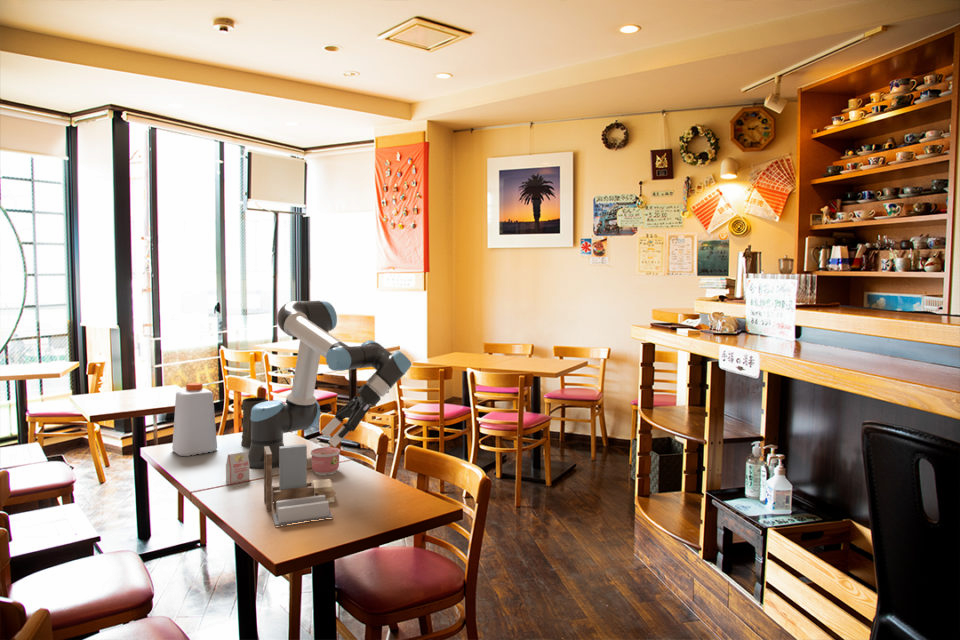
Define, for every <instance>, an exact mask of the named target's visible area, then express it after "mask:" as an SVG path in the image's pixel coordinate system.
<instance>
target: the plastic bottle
mask: <svg viewBox="0 0 960 640" xmlns="http://www.w3.org/2000/svg"><path fill="white" fill-rule="evenodd" d="M216 429H217V428H216V418H215V405H214V393H213V392H212V391H211V390H209V389H207V388H204V387H203V383H201V382H190V383H187V384H186V385H185V389H181V390H178V391H177V392H176V393H175V405H174V420H173V433H172V445H171V446H172V451H173V452H174V453H176V454H177V455H178V456H180V457H191V456H190V455H192V456H197V455H196V454H199V455H203V454H202V453H205V454H209V453H208V452H210V453H213V451H214V452H215V451H216V450H217V449H218V440H217V430H216Z"/></svg>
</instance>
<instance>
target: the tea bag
mask: <svg viewBox="0 0 960 640" xmlns="http://www.w3.org/2000/svg"><path fill="white" fill-rule="evenodd" d="M248 453H249V450H248V451H243V452H242V451H241V452H236V453H230V454H227V458H226V463H225V482H226V483H227V484H228V483H229V484H228V485H234V483H235V484H239V483H238V482H240V483H244V481H245V482H248V481H250V477H251V476H250V474H251V473H250V470H251V469H250V468H251V467H250V464H249V458H248Z"/></svg>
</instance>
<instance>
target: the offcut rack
mask: <svg viewBox="0 0 960 640" xmlns="http://www.w3.org/2000/svg"><path fill="white" fill-rule="evenodd" d="M263 480H264V481H263V501H264V503H266V504H265V507H266V508H265V509H266V510H272V511H273V509H276V508H275V507H276V501H281V500H288V499H296V498H304V497H311V496H319V495H325V501H328V502H334V503H335V497H336V490H334V489H333V484H332V480H331V478H325V479H324V478H323V479H315V480H312V481H307V487H301V488H293V489H285V490H279V484H278V485H273V467H272V453H271V450H270V448H269V446H265V447H264V468H263ZM273 502H274V503H273Z"/></svg>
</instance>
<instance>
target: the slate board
mask: <svg viewBox="0 0 960 640" xmlns="http://www.w3.org/2000/svg"><path fill="white" fill-rule="evenodd" d="M307 447H308V446H307V444H306V443H303V444H294V445H284V446H280V447H279V466H278V470H279V471H278V473H279V474H278V477H279V478H278V481H279V482H278V485H279V490H285V489H293V488H301V487H307V482H308V481H307V480H308V479H307V476H308V474H307V469H308V466H307V462H308V460H307V459H308V458H307V457H308V455H307V454H308V450H307Z"/></svg>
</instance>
